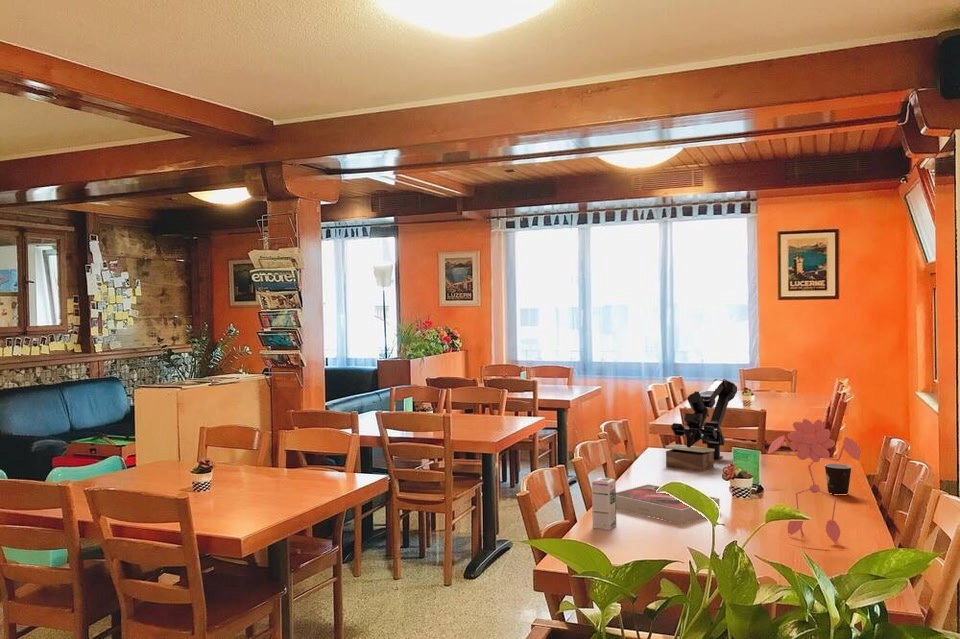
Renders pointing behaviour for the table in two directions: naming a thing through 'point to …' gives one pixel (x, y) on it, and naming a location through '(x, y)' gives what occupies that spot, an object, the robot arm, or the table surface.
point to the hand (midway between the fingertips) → (687, 446)
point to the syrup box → (604, 503)
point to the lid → (689, 448)
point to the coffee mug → (838, 478)
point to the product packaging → (656, 504)
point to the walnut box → (689, 459)
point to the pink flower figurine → (814, 460)
